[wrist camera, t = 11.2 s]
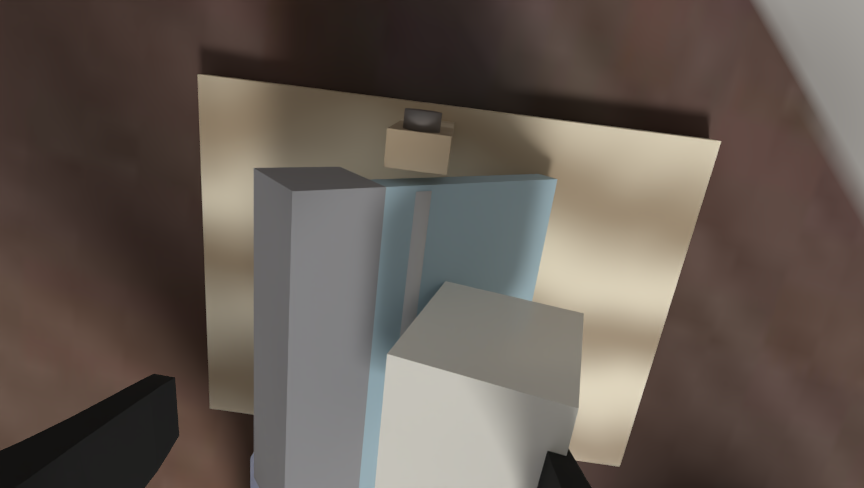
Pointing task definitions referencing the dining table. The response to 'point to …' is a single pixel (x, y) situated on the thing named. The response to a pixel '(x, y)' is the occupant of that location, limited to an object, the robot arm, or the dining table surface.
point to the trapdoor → (365, 298)
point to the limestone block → (479, 392)
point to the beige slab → (454, 157)
